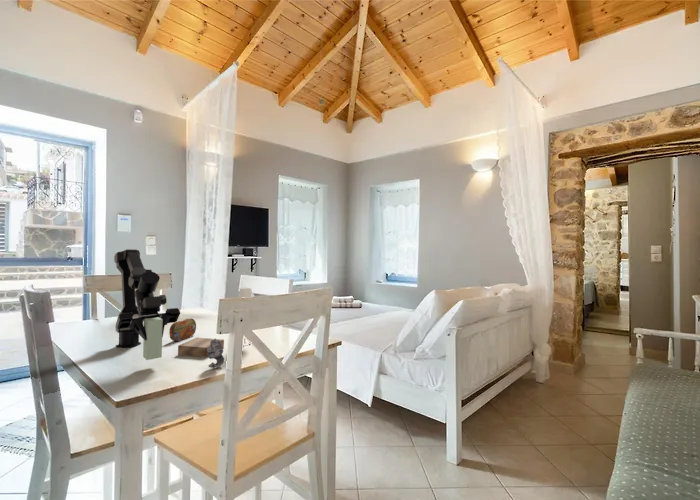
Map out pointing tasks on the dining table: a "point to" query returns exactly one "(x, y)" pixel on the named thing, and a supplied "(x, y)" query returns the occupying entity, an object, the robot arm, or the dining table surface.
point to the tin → (182, 329)
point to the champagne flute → (245, 293)
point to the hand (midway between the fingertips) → (154, 338)
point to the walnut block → (196, 347)
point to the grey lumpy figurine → (215, 353)
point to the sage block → (153, 338)
